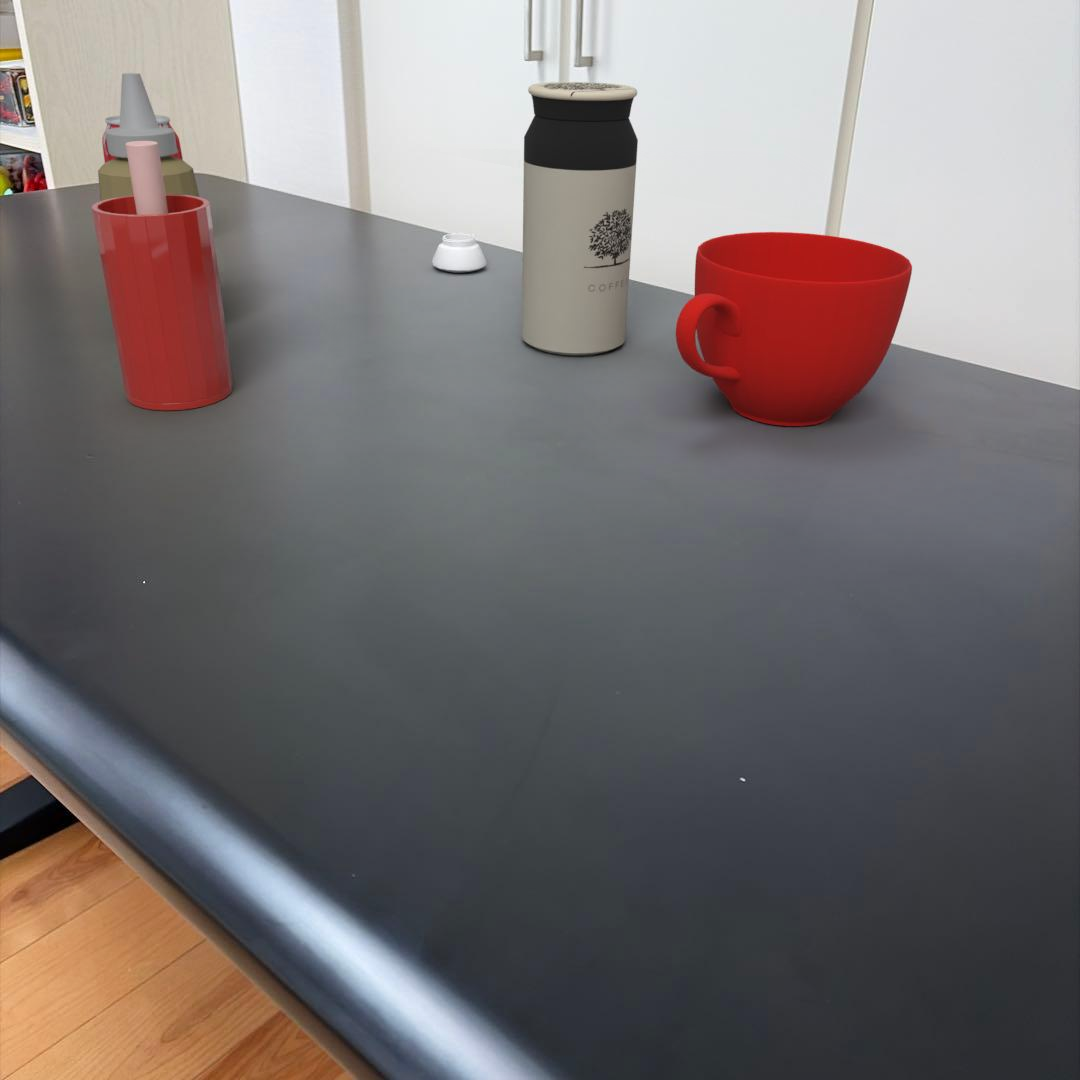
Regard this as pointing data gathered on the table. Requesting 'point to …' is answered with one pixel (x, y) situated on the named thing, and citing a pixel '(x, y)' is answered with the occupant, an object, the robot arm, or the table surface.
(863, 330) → the ceramic cup
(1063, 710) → the table surface
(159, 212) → the straw
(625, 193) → the travel mug
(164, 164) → the squeeze bottle
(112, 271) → the red tumbler
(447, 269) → the lidless jar
